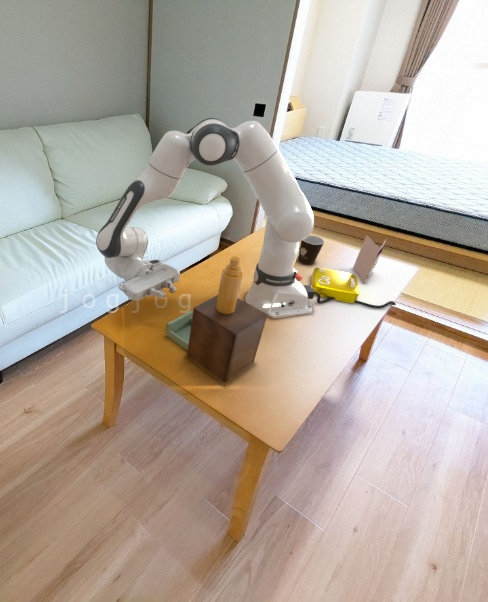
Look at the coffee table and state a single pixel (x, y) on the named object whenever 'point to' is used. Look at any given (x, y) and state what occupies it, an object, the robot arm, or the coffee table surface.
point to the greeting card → (367, 259)
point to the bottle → (229, 287)
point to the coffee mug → (310, 249)
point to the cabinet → (225, 337)
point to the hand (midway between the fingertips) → (169, 293)
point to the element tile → (335, 284)
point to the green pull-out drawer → (180, 329)
